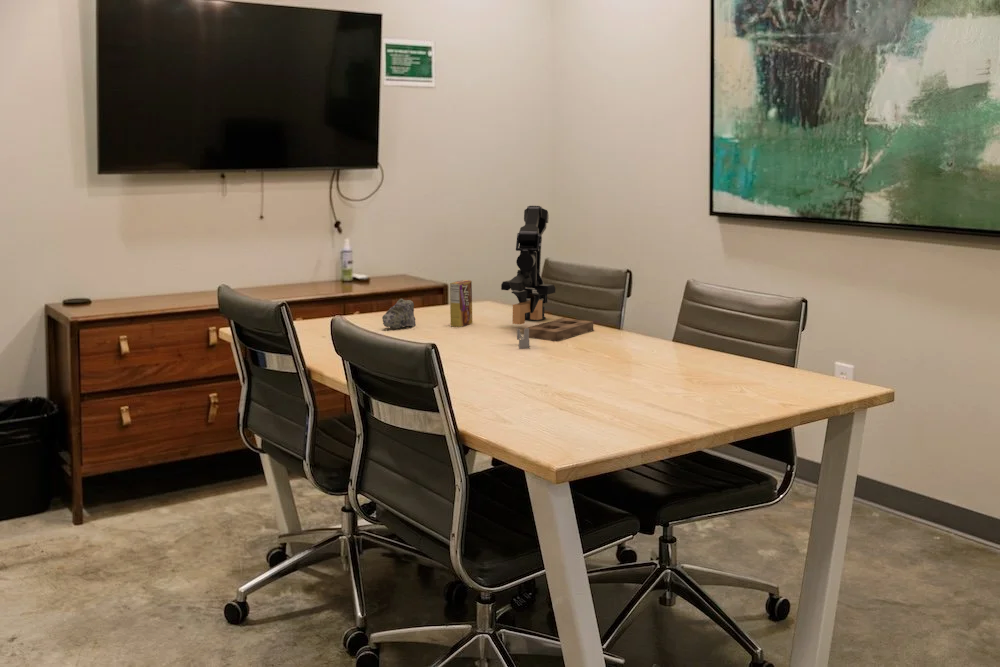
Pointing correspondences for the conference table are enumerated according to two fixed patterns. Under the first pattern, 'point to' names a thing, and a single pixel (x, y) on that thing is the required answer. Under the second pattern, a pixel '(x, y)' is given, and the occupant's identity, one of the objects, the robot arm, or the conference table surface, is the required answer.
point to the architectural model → (523, 338)
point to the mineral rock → (400, 315)
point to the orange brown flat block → (524, 308)
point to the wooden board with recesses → (560, 329)
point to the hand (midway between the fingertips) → (527, 312)
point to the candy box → (461, 303)
